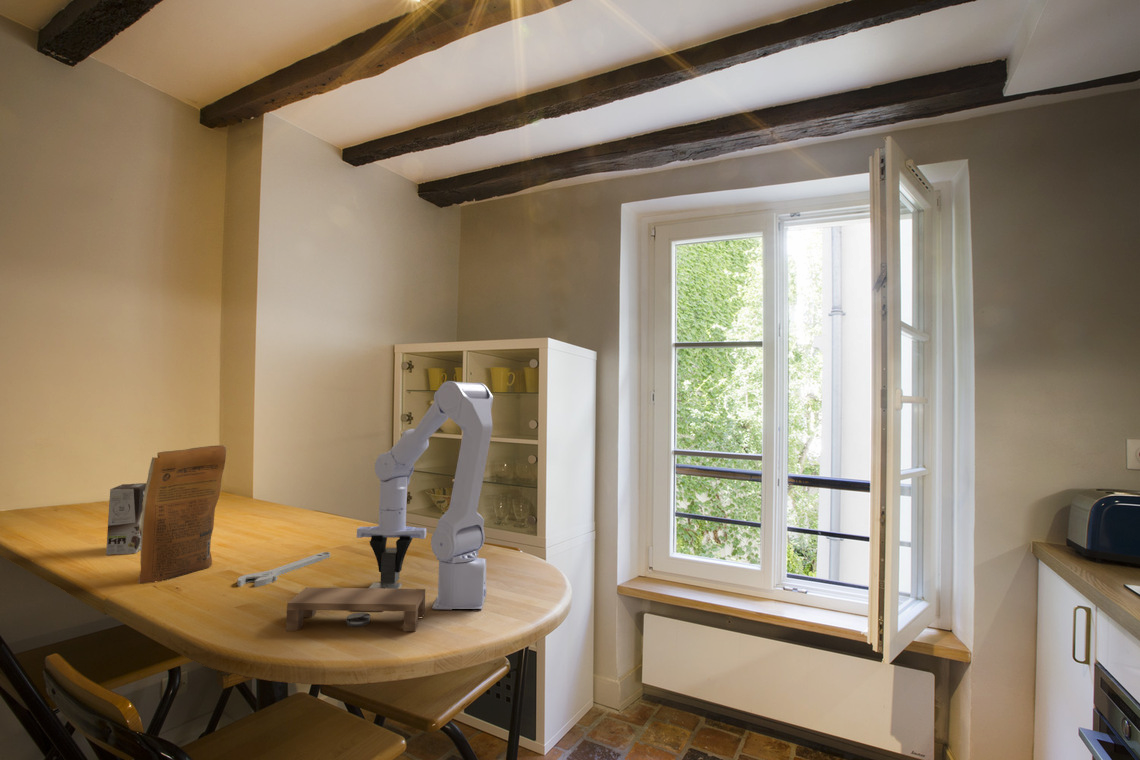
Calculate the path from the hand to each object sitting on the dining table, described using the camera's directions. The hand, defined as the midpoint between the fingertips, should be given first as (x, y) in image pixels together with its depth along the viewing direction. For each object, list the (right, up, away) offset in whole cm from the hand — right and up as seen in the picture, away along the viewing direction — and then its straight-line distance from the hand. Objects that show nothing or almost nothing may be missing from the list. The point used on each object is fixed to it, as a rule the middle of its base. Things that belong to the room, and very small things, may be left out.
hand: (390, 571), depth 124 cm
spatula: (0, -2, -7) cm, 7 cm away
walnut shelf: (+1, -2, -21) cm, 21 cm away
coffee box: (-72, -1, +19) cm, 75 cm away
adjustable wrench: (-25, -3, +7) cm, 26 cm away
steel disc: (+1, -2, -21) cm, 22 cm away
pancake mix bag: (-47, -2, +2) cm, 47 cm away
